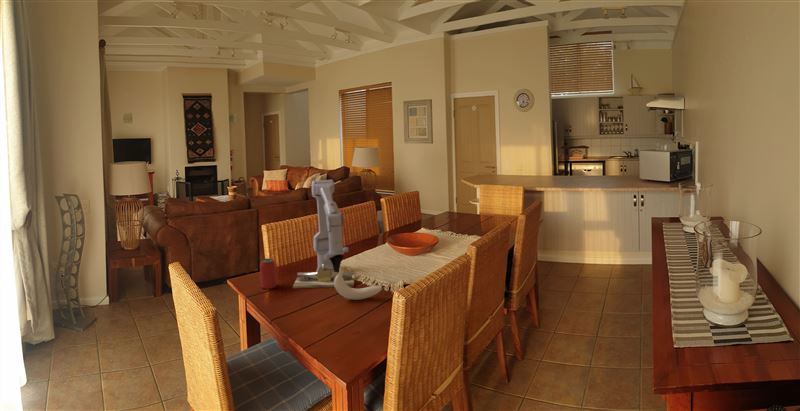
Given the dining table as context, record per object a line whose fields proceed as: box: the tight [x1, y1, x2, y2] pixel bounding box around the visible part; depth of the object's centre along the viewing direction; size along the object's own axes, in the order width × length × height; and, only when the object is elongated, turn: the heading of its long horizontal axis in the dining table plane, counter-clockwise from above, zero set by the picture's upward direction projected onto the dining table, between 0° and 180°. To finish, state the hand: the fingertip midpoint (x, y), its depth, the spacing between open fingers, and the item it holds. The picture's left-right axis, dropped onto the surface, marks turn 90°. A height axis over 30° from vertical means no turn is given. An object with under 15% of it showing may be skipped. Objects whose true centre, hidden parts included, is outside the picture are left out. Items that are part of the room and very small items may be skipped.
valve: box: [296, 267, 353, 282], centre depth 213 cm, size 5×24×6 cm, turn 92°
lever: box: [322, 263, 348, 272], centre depth 209 cm, size 13×2×2 cm, turn 56°
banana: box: [334, 267, 383, 301], centre depth 191 cm, size 5×19×15 cm, turn 100°
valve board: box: [292, 273, 356, 289], centre depth 213 cm, size 14×26×1 cm, turn 92°
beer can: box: [259, 258, 278, 290], centre depth 208 cm, size 7×7×12 cm
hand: (336, 271), depth 206 cm, fingers closed, pressing on lever
